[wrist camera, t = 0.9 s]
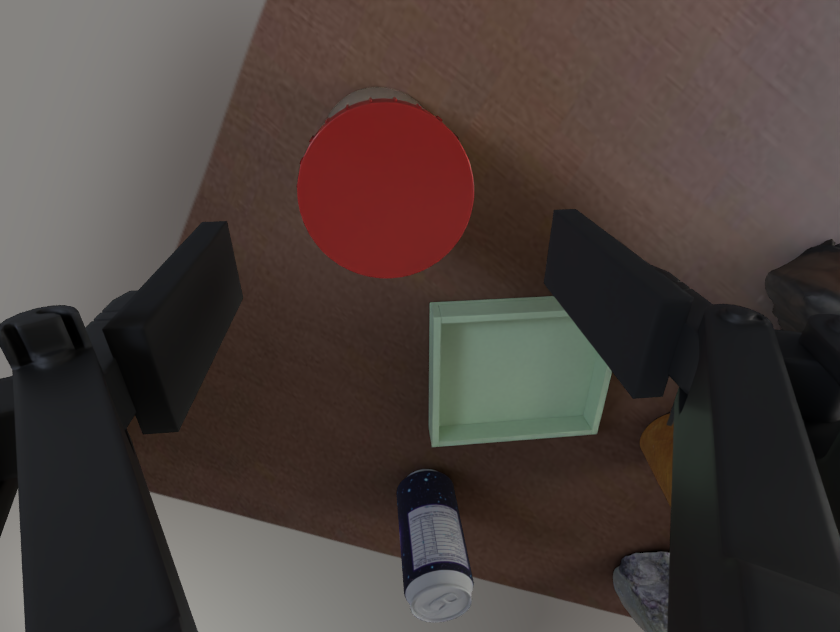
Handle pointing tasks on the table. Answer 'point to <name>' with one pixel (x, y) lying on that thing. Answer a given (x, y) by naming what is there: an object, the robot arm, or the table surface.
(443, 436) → the tray
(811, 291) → the owl
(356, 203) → the jar lid
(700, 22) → the table surface
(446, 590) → the beverage can
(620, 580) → the mineral rock
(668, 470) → the disposable coffee cup
